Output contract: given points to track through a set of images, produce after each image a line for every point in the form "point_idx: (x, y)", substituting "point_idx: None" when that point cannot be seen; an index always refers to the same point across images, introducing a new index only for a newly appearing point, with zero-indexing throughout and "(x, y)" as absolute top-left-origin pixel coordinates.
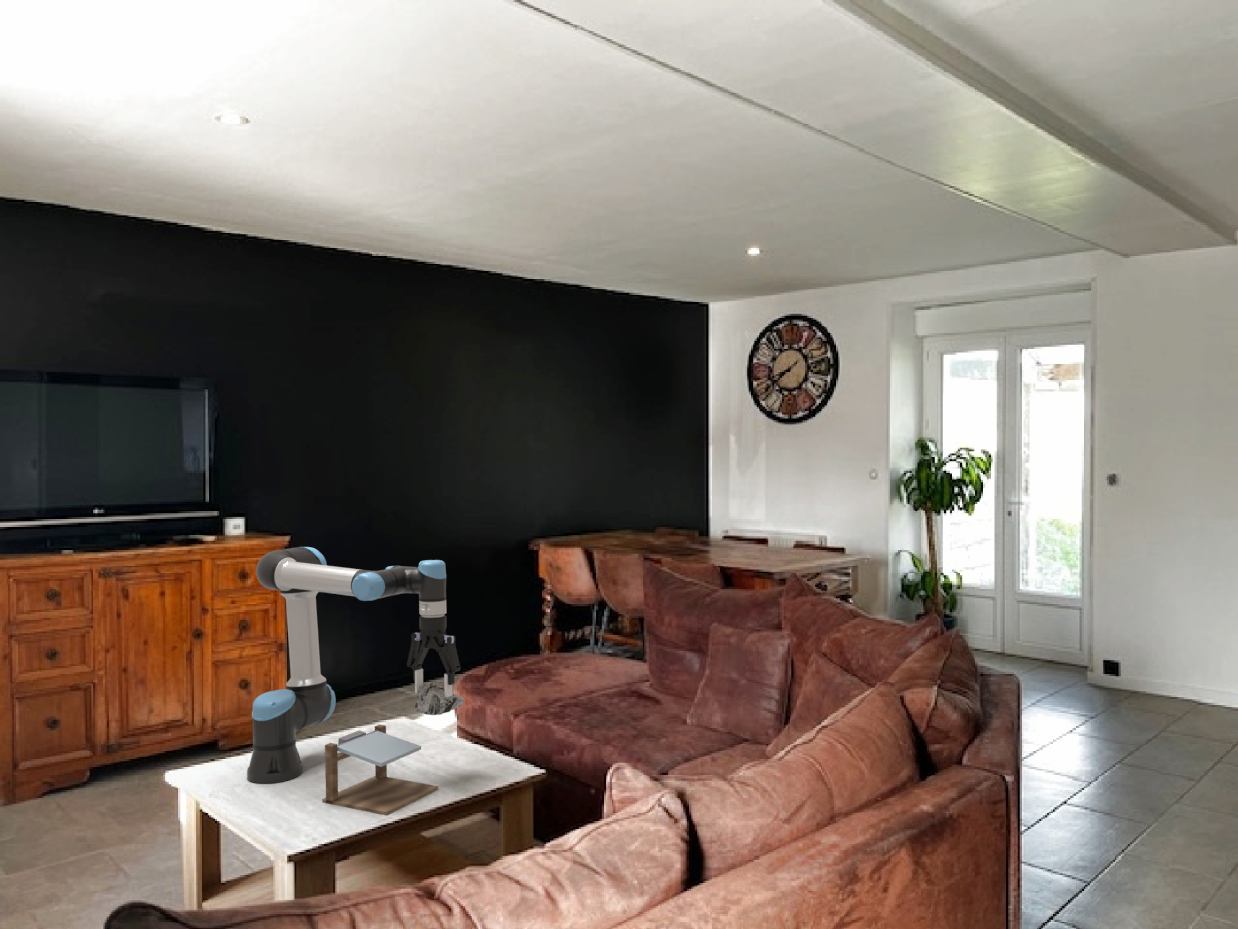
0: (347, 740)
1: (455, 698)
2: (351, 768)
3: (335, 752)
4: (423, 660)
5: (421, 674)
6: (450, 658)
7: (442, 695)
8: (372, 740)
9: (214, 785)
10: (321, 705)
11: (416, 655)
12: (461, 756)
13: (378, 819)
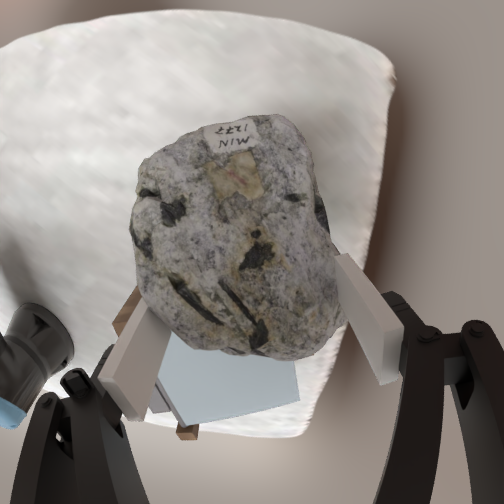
0: (168, 406)
1: (315, 199)
2: (71, 258)
3: (195, 424)
4: (101, 431)
5: (131, 365)
6: (476, 451)
7: (332, 311)
8: (188, 372)
9: (49, 381)
10: None
11: (49, 459)
12: (169, 64)
13: (313, 363)
